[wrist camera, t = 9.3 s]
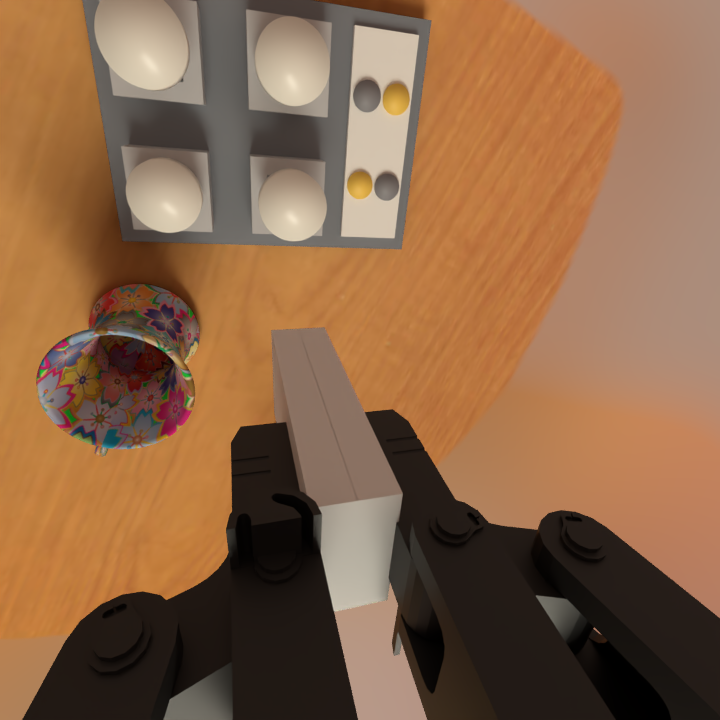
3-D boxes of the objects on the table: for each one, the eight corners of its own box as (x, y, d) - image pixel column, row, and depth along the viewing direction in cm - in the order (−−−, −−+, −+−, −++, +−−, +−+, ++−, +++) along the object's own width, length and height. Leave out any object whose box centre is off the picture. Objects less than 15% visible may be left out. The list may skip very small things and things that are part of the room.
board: (126, 236, 34) (114, 249, 31) (83, -32, 26) (61, -53, 23) (396, 244, 39) (410, 256, 36) (423, 24, 32) (444, 13, 29)
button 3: (257, 227, 32) (259, 240, 29) (256, 162, 30) (258, 168, 27) (316, 229, 33) (325, 242, 30) (319, 167, 31) (328, 173, 28)
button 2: (120, 88, 27) (103, 84, 23) (106, -4, 25) (86, -22, 21) (196, 96, 28) (190, 93, 24) (190, 9, 26) (182, -7, 22)
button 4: (254, 103, 30) (256, 101, 26) (252, 22, 28) (254, 10, 24) (318, 110, 31) (328, 109, 27) (321, 33, 29) (332, 22, 25)
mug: (102, 257, 34) (53, 307, 25) (220, 300, 38) (214, 357, 29) (67, 381, 38) (13, 463, 29) (176, 409, 42) (159, 489, 33)
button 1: (143, 219, 31) (131, 231, 28) (133, 152, 29) (119, 156, 26) (207, 222, 32) (203, 233, 29) (202, 157, 30) (198, 162, 27)
